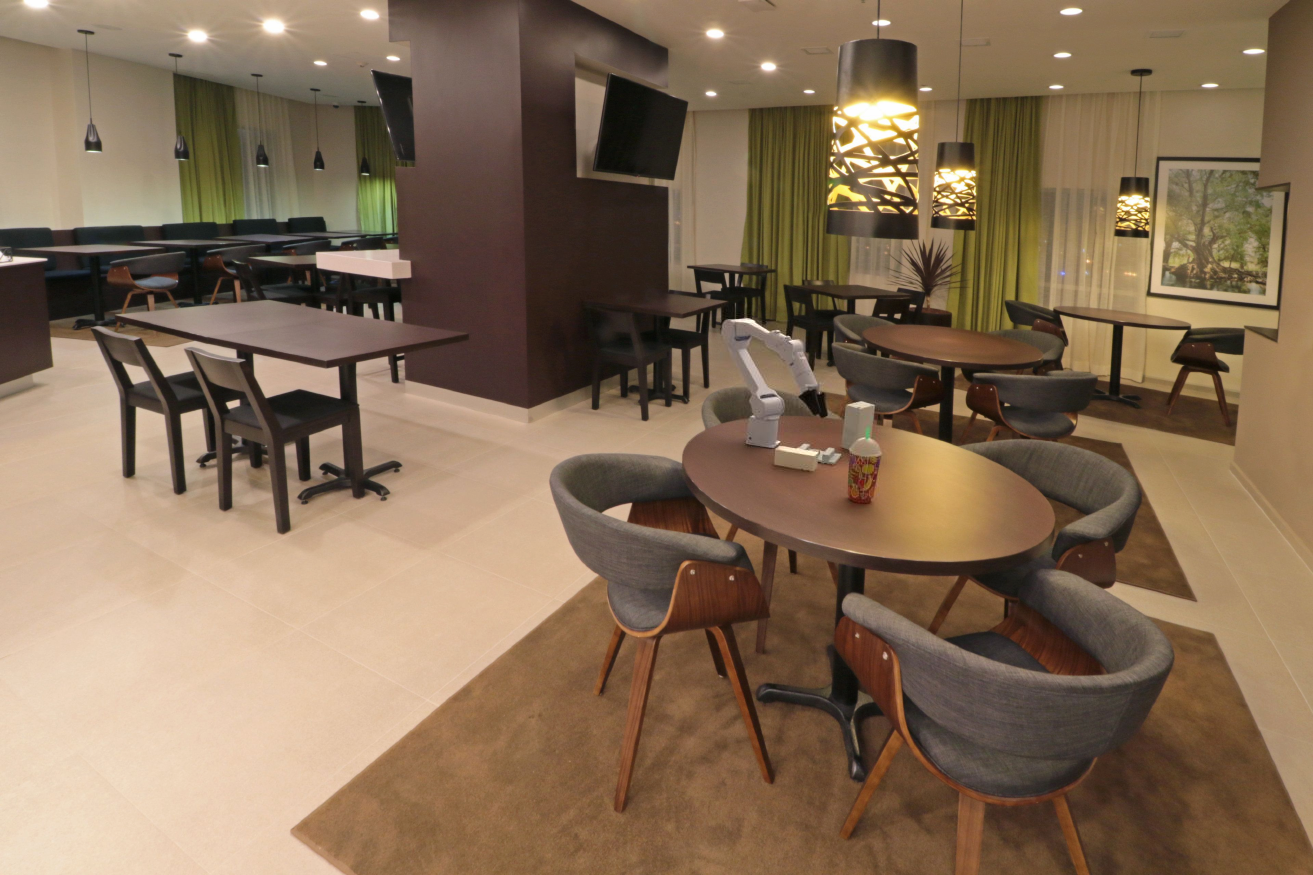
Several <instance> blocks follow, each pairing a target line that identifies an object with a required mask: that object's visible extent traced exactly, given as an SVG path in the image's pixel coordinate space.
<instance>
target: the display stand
mask: <svg viewBox="0 0 1313 875" xmlns="http://www.w3.org/2000/svg"><path fill="white" fill-rule="evenodd" d="M810 447H811V444H809V443H803V444H801V445H800V446H798V447H797V448H796V449H802V450H808V451H814V452H819V453H818V462H821V463H820V464H824V463H827V464H826V465H830V464H832V465H831V466H834V464H835V465H836V464H837V462H838V461H839V460H840V459H841V458H842V453H838V452H837V453H835V452H836V448H833V447H828V448H827V449H825V451H823V450H821V449H816V448H813V449H812V448H810ZM840 457H841V458H840Z"/></svg>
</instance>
